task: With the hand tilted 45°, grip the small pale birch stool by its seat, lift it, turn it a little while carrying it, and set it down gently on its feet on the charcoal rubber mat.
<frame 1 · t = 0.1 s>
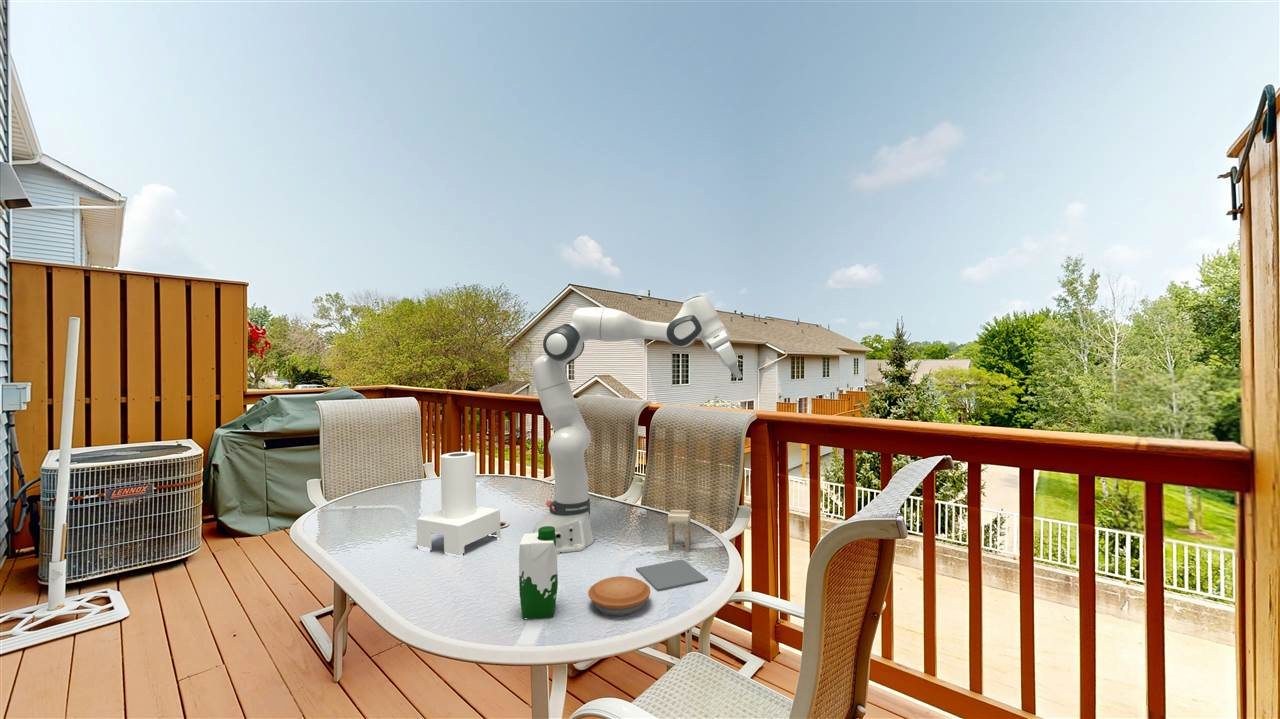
hand: (738, 377, 166), 54 cm above the table, tool tilted 30°, fingers open, 8 cm apart
mat: (670, 575, 144), on the table
stool: (679, 547, 165), on the table
pie: (619, 606, 127), on the table
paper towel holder: (459, 544, 172), on the table
milk carton: (539, 612, 125), on the table
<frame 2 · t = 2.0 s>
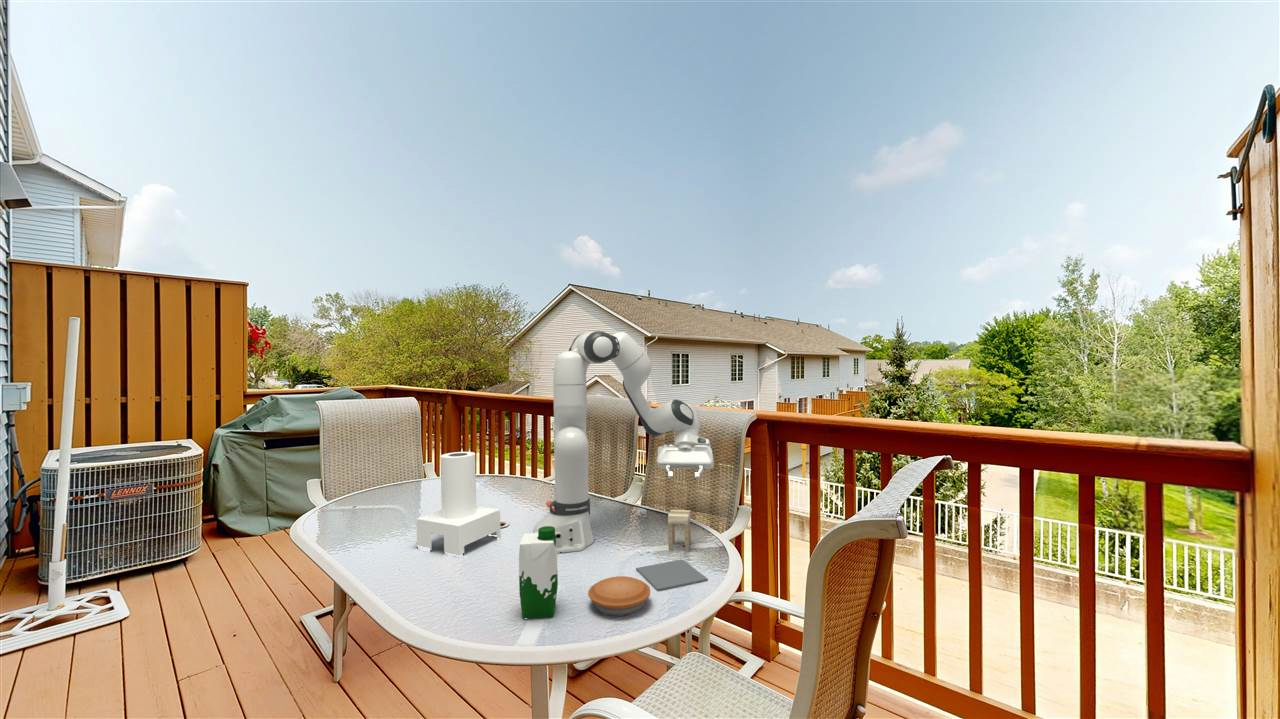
hand: (683, 478, 177), 19 cm above the table, tool tilted 45°, fingers open, 8 cm apart
nothing on the table moved.
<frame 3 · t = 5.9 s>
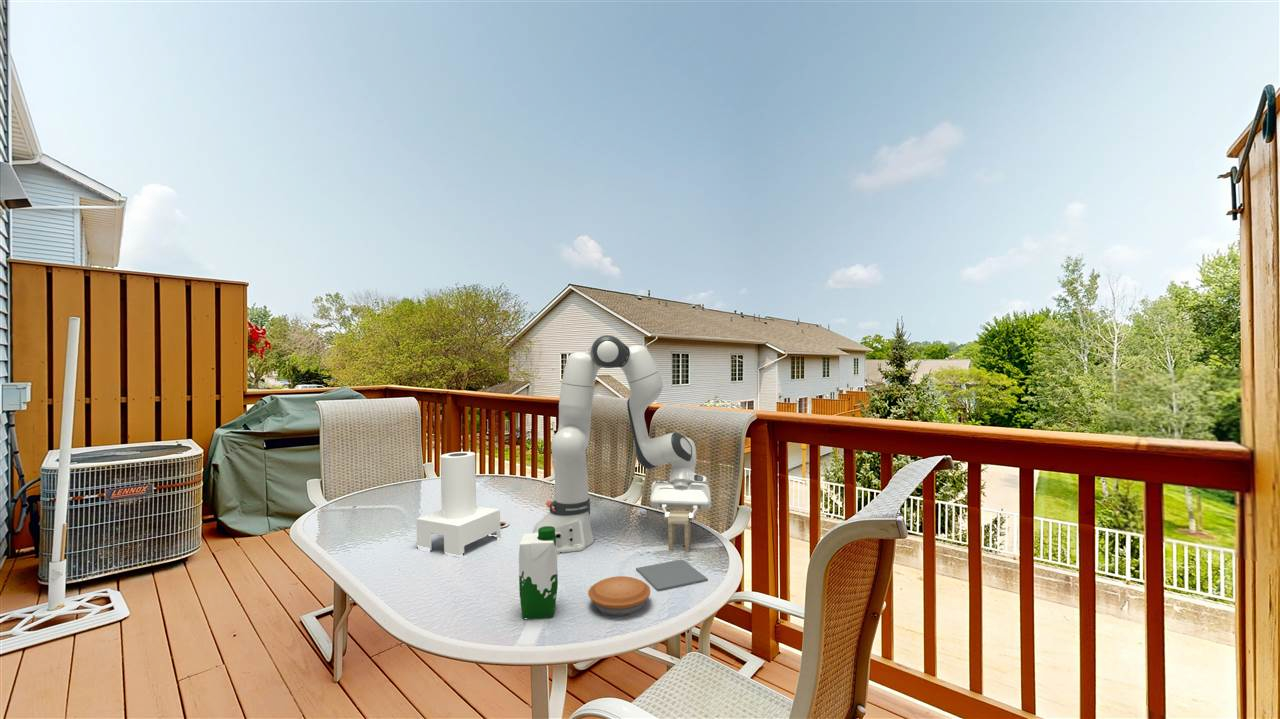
hand: (679, 519, 164), 9 cm above the table, tool tilted 45°, fingers closed on stool, 6 cm apart
stool: (679, 547, 165), on the table, touching gripper
everything else where it was.
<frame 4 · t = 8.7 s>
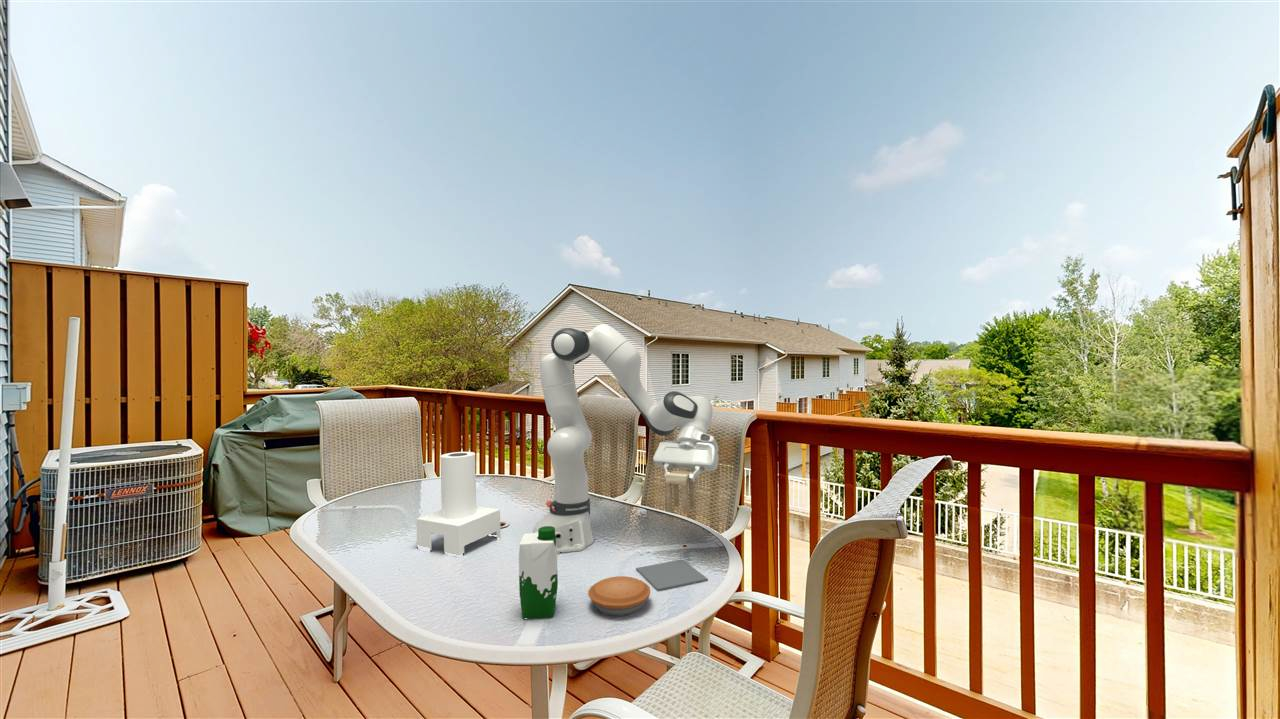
hand: (679, 479, 153), 25 cm above the table, tool tilted 45°, fingers closed on stool, 6 cm apart
stool: (681, 509, 153), point 15 cm above the table, touching gripper
everything else where it was.
when the fingers open (11 cm above the table, at t = 11.9 s): stool drops 2 cm, resting on mat.
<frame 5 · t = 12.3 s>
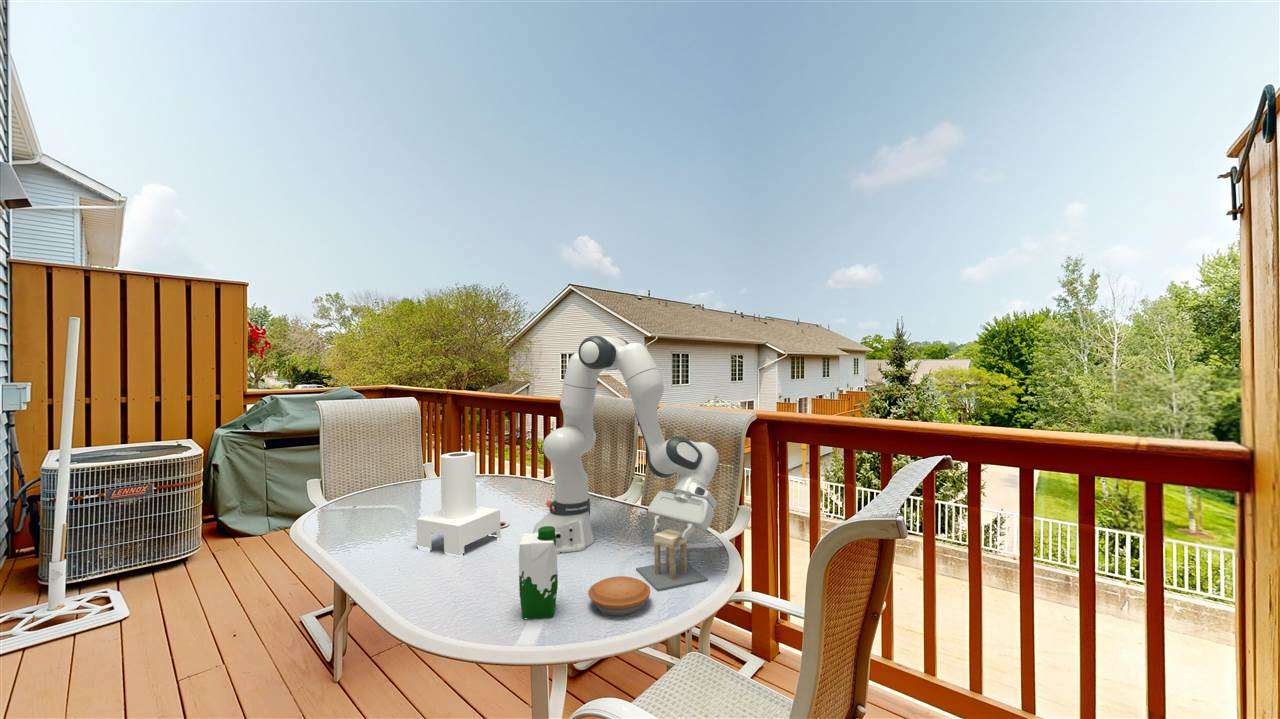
hand: (668, 535, 143), 11 cm above the table, tool tilted 45°, fingers open, 8 cm apart
stool: (670, 573, 144), point 1 cm above the table, touching mat
everything else where it was.
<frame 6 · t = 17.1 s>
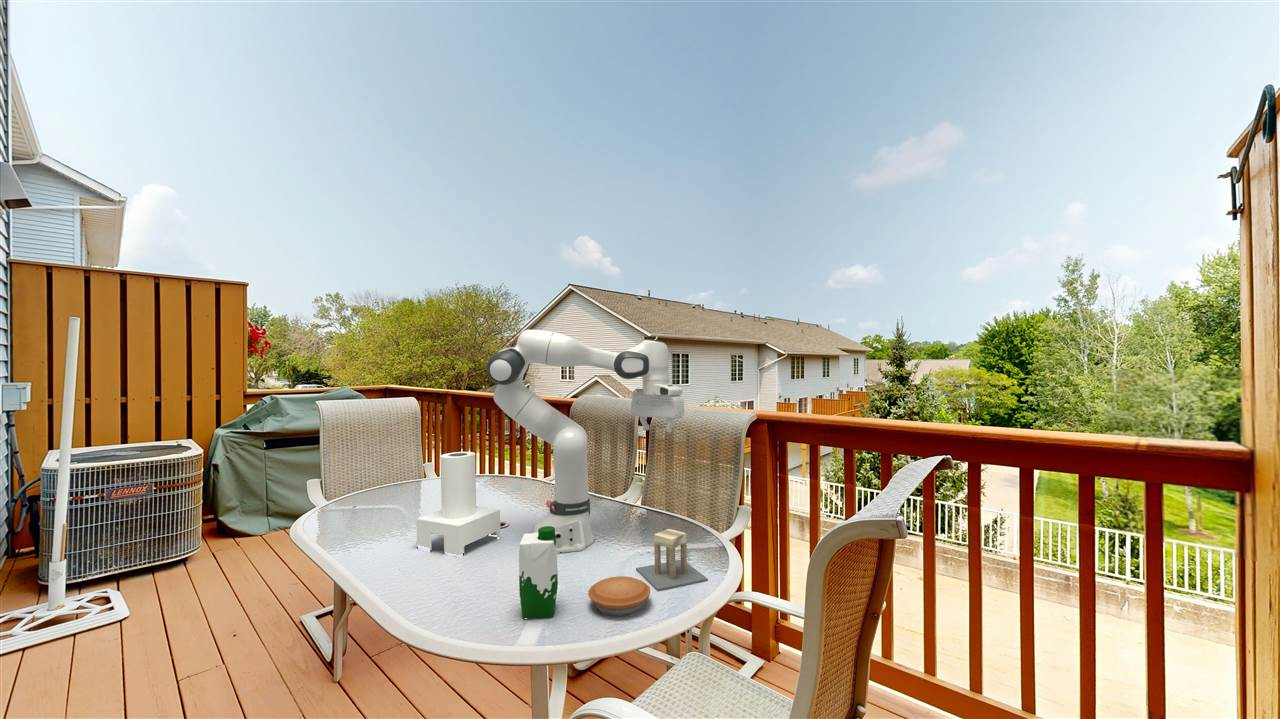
hand: (657, 431, 168), 37 cm above the table, tool pointing down, fingers open, 8 cm apart
nothing on the table moved.
at the end: stool inside the target area on the mat (0.0 cm from its centre), point 0.6 cm above the mat's base; stool tilted 0°; the gripper is holding nothing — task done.
